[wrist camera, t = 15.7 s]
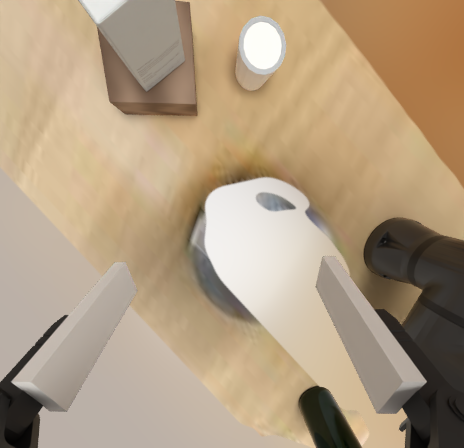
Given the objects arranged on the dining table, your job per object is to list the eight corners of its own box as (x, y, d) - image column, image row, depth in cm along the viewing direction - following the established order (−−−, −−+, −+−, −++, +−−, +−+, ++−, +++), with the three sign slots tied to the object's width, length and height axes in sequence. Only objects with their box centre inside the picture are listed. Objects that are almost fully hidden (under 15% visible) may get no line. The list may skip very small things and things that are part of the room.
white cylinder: (254, 103, 34) (266, 85, 27) (223, 75, 32) (229, 48, 25) (277, 69, 33) (295, 43, 26) (247, 38, 31) (259, 1, 25)
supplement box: (149, 4, 24) (96, -167, 12) (186, 62, 26) (172, -35, 14) (105, 40, 24) (9, -94, 12) (145, 94, 27) (97, 25, 14)
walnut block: (192, 35, 31) (189, 2, 25) (197, 116, 34) (196, 104, 28) (113, 29, 29) (91, -8, 23) (126, 115, 32) (109, 101, 26)
